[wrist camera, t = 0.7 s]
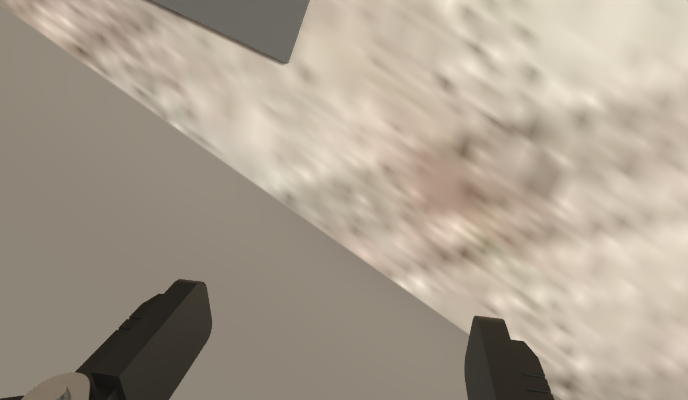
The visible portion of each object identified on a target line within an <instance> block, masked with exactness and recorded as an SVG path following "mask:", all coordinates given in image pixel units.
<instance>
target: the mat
mask: <svg viewBox="0 0 688 400" xmlns="http://www.w3.org/2000/svg"><path fill="white" fill-rule="evenodd" d="M152 1H154V2H156V3H158V4H161V5H163V6H165V7H167V8H169V9H171V10H173V11H175V12H178V13H180V14H182V15H184V16H186V17H188V18H190V19H192V20H195V21H197V22H199V23H201V24H203V25H205V26H207V27H209V28H212V29H214V30H216V31H218V32H220V33H222V34H224V35H226V36H229V37H231V38H233V39H235V40H237V41H239V42H241V43H244V44H246V45H248V46H250V47H252V48H254V49H256V50H258V51H261V52H263V53H265V54H267V55H269V56H271V57H273V58H275V59H278V60H280V61H282V62H284V63H286V64H287V63H288V62H289V59H290V56H291V53H292V50H293V47H294V44H295V42H296V39H297V36H298V33H299V30H300V27H301V24H302V21H303V18H304V15H305V12H306V9H307V6H308V3H309V0H152Z"/></svg>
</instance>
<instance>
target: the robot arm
mask: <svg viewBox="0 0 688 400" xmlns="http://www.w3.org/2000/svg"><path fill="white" fill-rule="evenodd" d="M211 329H212V317H211V311H210V305H209V298H208V292H207V287H206V284H205V283H204V282H200V281H192V280H184V279H179V280H177V281H176V282H174V284H172V286H171V287H170V288H169V289H168V290H167V291H166V292H165V293H164V294H158V295H156V296H154V297H153V298H151V299H150V300H148V301H146V302H144V303H143V304H142V305H140V306H139V307H138V309H137V310H136V311H135V312H134V313H133V314H132V315H131V316H130V317H129V319H127V320H126V321H125V322H124V323H123V324H122V325H121V326H120V327H119V330H116V331H115V332H114V333H113V334H112V335H111V336H110V337H109V338H108V339H107V340H106V341H105V342H104V343H103V344H102V345H101V346H100V347H99V348H98V349H97V350H96V351H95V352H94V353H93V354H92V355H91V356H90V357H89V359H88V360H86V361H85V363H83V365H82V366H81V367H80V368H79V369H78V370H77V371H76V372H71V373H64V374H60V375H56V376H54V377H52V378H49V379H47V380H45V381H43V382H41V383H40V384H38V385H37V386H35V387H34V388H33V389H31V390H30V391H29V392H28V393H27V394H26V395H25V396H17V397H9V398H2V399H0V400H169V399H170V397H171V396H172V394H173V392H174V391H175V390H176V388H177V386H178V385H179V383H180V382H181V380H182V379H183V377H184V376H185V374H186V373H187V371H188V370H189V368H190V367H191V365H192V363H193V362H194V360H195V359H196V357H197V356H198V354H199V353H200V351H201V350H202V348H203V347H204V345H205V344H206V342H207V340H208V338H209V336H210V333H211ZM465 382H466V389H467V395H468V400H554V398H553V395H552V394H551V390H550V387H549V385H548V382H547V380H546V379H545V374H544V372H543V369H542V367H541V364H540V362H539V359H538V357H537V356H536V355H535V354H534V352H533V351H532V350H531V349H530V348H529V347H528V346H527V344H526V343H525V342H524V341H517V340H511V339H510V336H509V333H508V330H507V327H506V324H505V321H504V320H503V319H498V318H490V317H482V316H474V318H473V322H472V326H471V331H470V336H469V341H468V346H467V351H466V356H465Z"/></svg>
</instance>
